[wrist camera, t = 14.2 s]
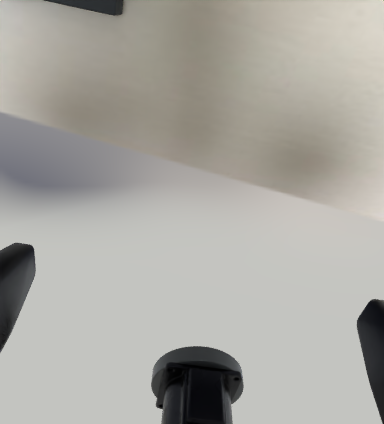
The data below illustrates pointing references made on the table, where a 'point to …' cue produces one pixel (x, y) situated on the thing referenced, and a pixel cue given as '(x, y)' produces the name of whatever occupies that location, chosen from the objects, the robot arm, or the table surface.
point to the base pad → (95, 5)
